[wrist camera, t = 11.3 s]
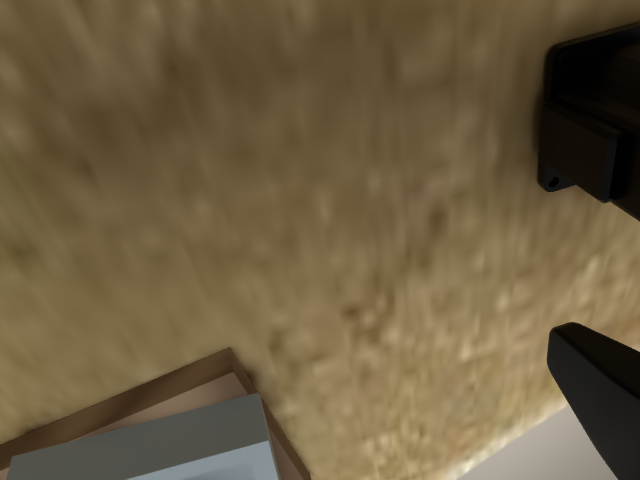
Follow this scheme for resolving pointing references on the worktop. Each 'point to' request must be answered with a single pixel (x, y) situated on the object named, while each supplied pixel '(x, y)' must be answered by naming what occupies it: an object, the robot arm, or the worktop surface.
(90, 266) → the worktop surface
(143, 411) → the slab bottom
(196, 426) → the slab top
